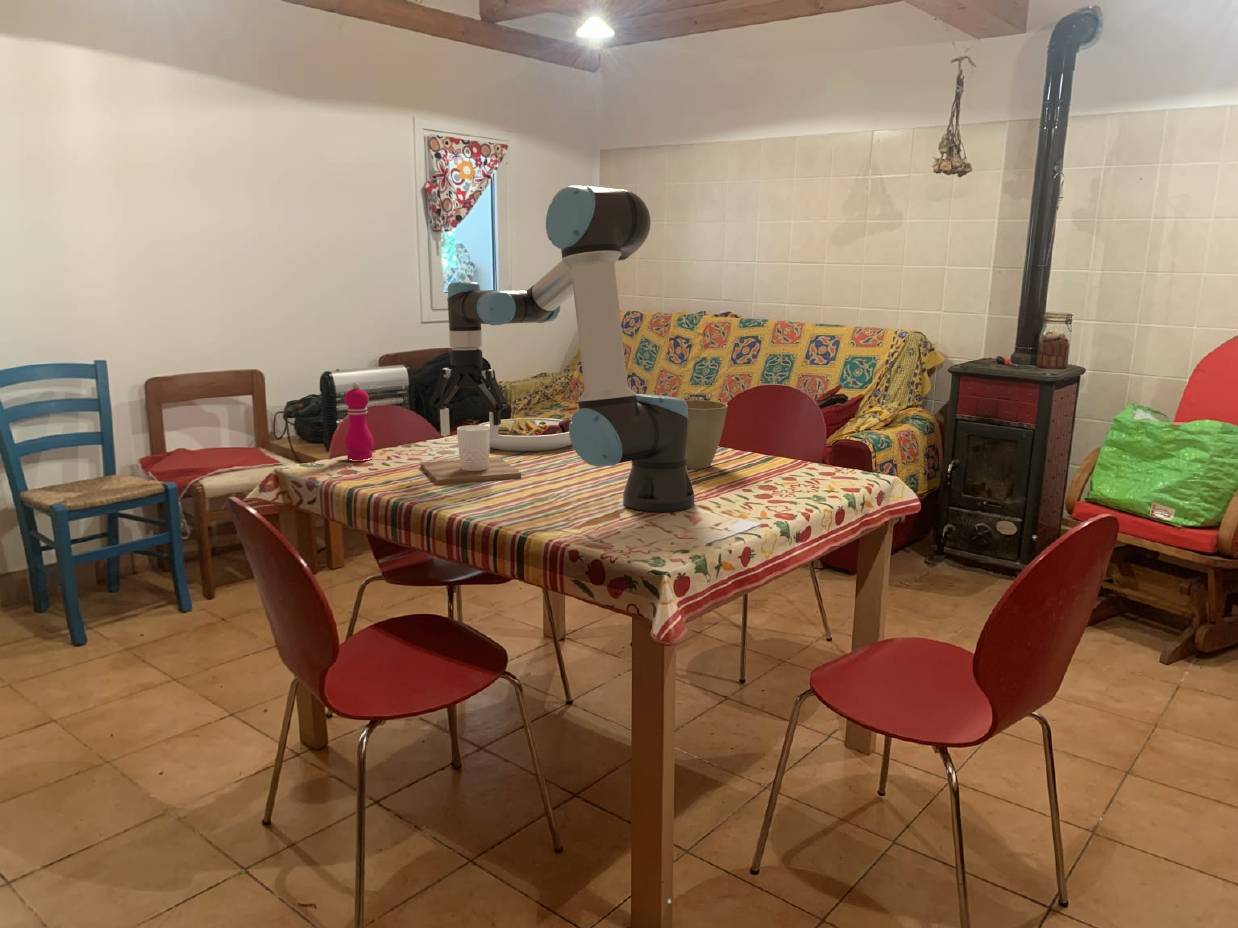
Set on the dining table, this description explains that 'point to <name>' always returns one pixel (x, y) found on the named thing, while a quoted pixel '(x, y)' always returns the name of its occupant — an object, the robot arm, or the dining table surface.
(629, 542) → the dining table surface
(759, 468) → the dining table surface
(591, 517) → the dining table surface
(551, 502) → the dining table surface
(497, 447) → the bowl
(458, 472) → the walnut board
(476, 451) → the white cup
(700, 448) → the plant pot
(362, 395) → the pepper mill
